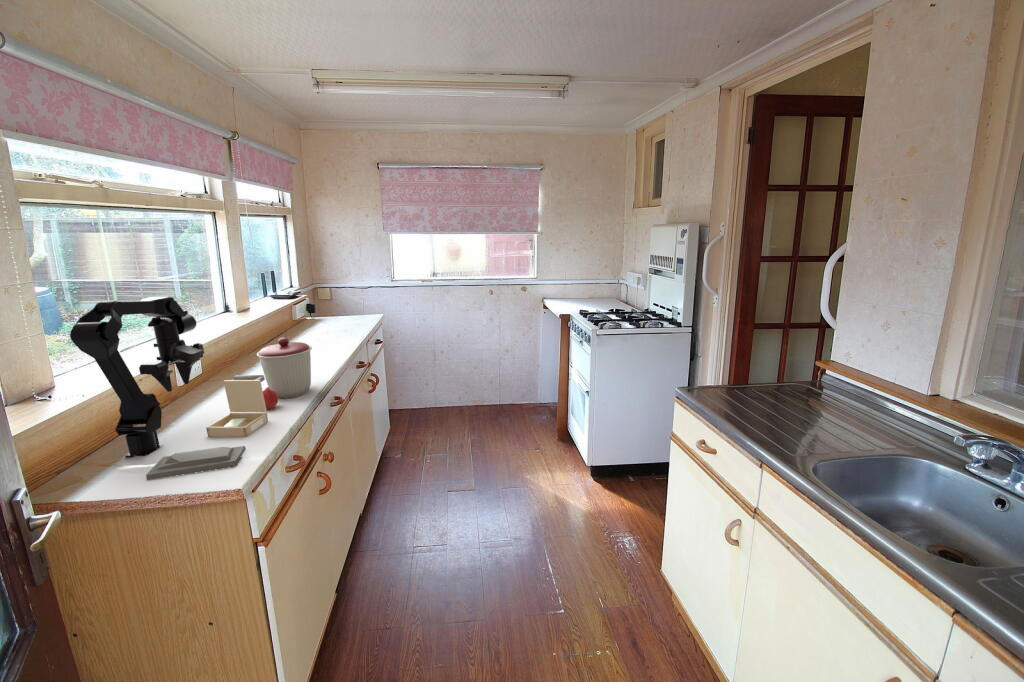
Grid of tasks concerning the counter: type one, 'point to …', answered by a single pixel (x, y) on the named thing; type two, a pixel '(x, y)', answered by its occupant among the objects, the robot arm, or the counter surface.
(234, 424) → the soap bar
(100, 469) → the counter surface
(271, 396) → the onion
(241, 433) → the carton
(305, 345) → the canister
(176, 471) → the soap mold
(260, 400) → the flap
